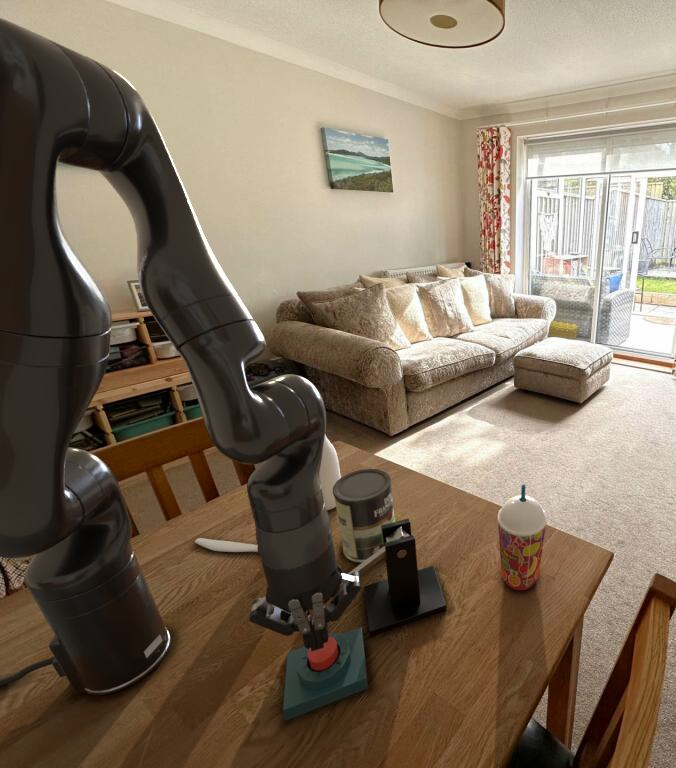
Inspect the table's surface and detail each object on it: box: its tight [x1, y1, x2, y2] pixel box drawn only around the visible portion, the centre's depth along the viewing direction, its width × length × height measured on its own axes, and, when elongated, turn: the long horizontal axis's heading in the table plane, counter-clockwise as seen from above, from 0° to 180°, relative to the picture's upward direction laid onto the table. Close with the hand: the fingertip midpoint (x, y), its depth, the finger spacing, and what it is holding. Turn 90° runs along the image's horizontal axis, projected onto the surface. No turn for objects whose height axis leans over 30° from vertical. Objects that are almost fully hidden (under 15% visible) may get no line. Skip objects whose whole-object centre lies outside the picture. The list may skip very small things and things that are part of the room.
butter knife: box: [194, 537, 258, 553], centre depth 77 cm, size 1×27×3 cm
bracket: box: [364, 518, 447, 638], centre depth 65 cm, size 12×9×15 cm
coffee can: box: [333, 468, 396, 564], centre depth 77 cm, size 10×10×14 cm
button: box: [308, 637, 338, 671], centre depth 55 cm, size 4×4×2 cm
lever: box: [331, 527, 409, 599], centre depth 62 cm, size 14×3×3 cm, turn 113°
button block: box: [282, 627, 369, 721], centre depth 56 cm, size 10×8×4 cm
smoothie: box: [497, 484, 548, 591], centre depth 69 cm, size 8×8×20 cm
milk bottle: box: [319, 434, 342, 511], centre depth 88 cm, size 8×8×20 cm
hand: (317, 643), depth 54 cm, fingers closed
